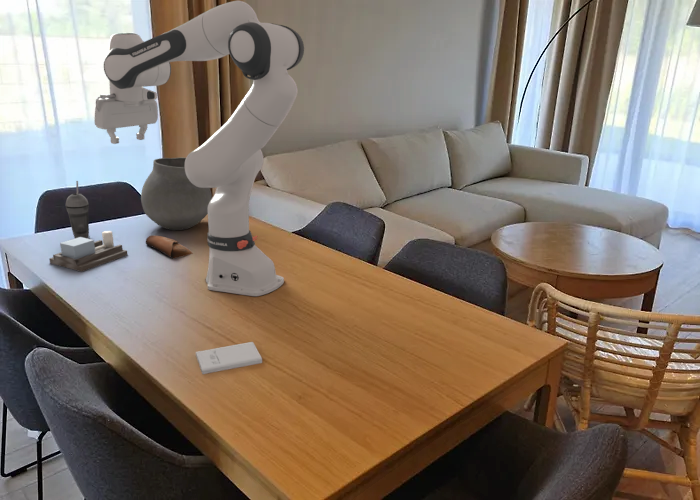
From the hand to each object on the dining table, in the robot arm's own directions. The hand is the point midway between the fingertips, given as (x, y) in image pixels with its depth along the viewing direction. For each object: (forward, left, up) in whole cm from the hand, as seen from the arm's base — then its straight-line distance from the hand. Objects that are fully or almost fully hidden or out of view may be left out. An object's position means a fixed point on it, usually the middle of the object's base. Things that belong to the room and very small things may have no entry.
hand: (128, 141), depth 165 cm
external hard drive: (-64, +36, -37) cm, 82 cm away
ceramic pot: (+13, -31, -37) cm, 50 cm away
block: (+12, +8, -35) cm, 38 cm away
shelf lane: (+12, +9, -36) cm, 39 cm away
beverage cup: (+32, -4, -37) cm, 49 cm away
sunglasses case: (-2, -11, -37) cm, 39 cm away
